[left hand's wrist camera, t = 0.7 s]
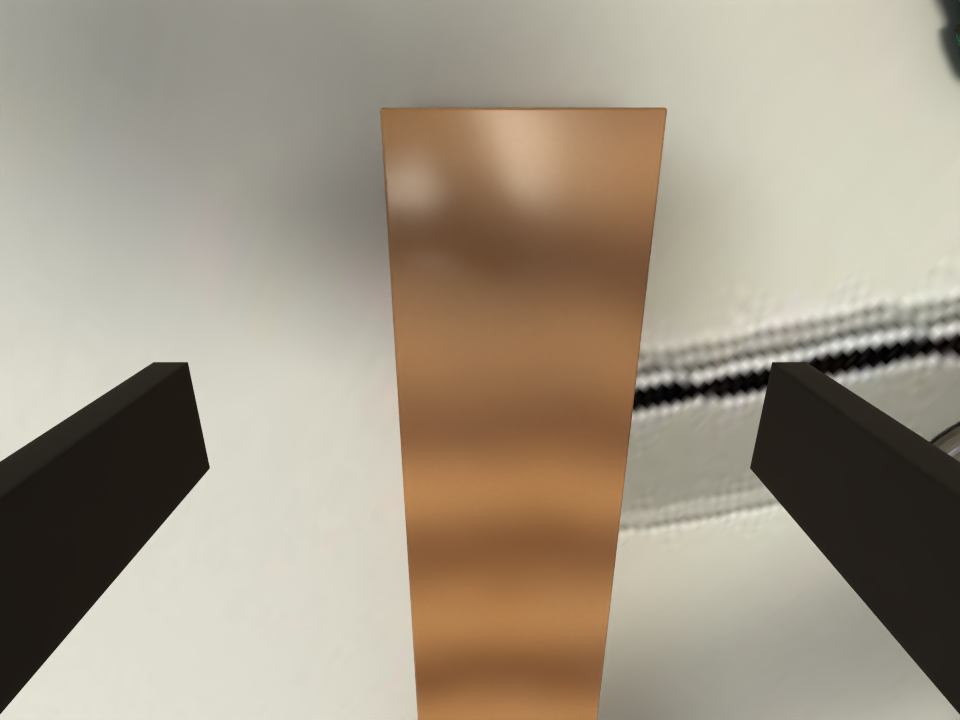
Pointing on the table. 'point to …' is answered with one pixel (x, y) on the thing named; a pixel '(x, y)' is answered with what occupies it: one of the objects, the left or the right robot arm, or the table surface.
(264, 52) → the table surface
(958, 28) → the spray gun
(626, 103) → the table surface
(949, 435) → the right robot arm
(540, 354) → the wooden beam
